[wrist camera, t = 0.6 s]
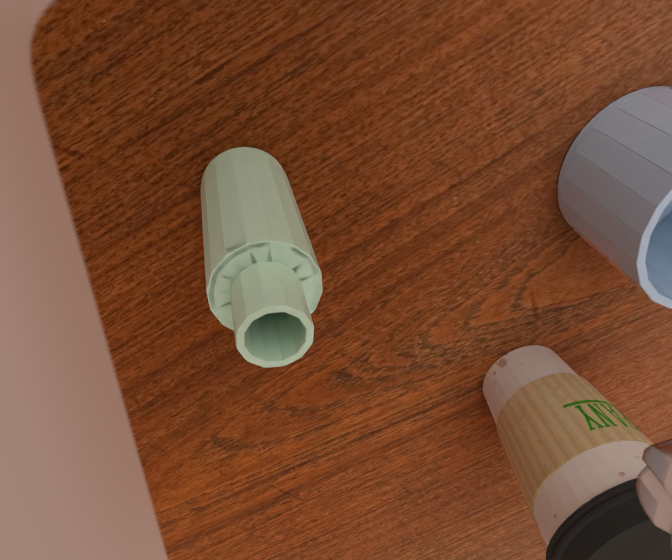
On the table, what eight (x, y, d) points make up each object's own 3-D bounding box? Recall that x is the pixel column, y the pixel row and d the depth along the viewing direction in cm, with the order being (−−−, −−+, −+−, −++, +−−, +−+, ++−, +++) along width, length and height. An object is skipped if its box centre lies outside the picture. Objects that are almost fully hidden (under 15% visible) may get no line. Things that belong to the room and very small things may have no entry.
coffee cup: (583, 398, 48) (719, 573, 36) (468, 439, 48) (566, 630, 36) (580, 306, 42) (741, 478, 30) (450, 352, 42) (559, 544, 30)
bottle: (183, 173, 31) (184, 324, 20) (261, 130, 31) (302, 262, 20) (229, 239, 34) (251, 403, 23) (301, 200, 33) (357, 349, 23)
